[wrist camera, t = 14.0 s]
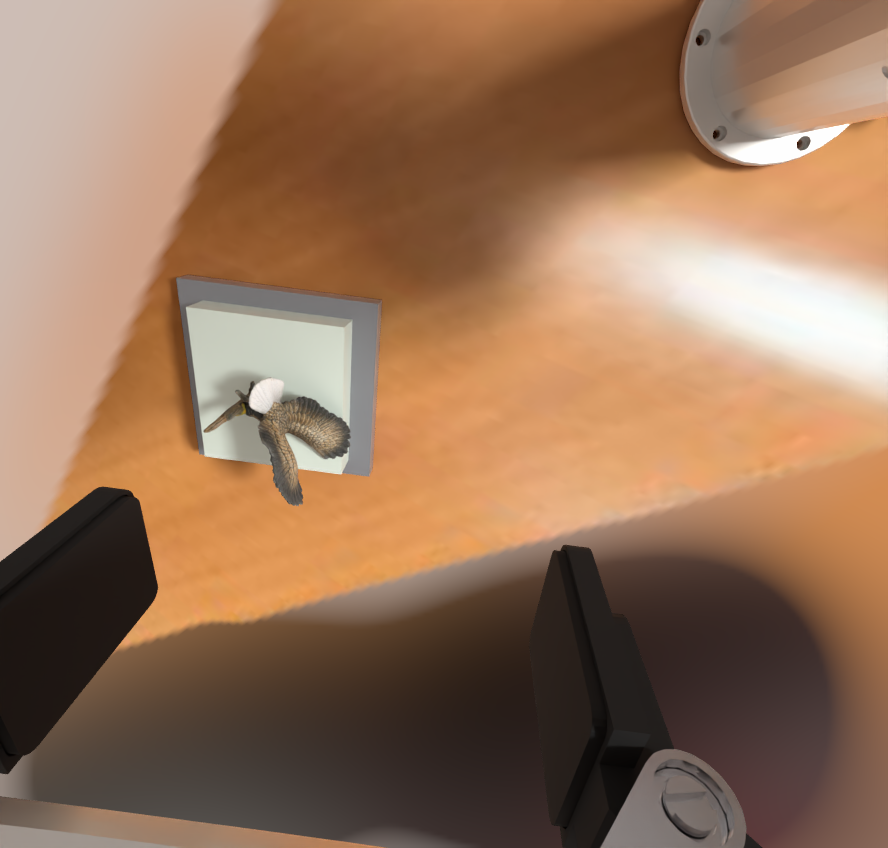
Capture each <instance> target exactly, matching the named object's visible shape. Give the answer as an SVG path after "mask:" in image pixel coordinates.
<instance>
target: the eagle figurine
mask: <svg viewBox="0 0 888 848" xmlns="http://www.w3.org/2000/svg"><path fill="white" fill-rule="evenodd" d="M283 389H284V382H283V381H282V380H280V379H275V378H272V377H268V378H266V379H263V380H260V381H259V382H258V383H256V384H255V382H254V381H252V382H251V383H250V388H249V392H248V394H247V395H244V394H243V393H242V392H241V391H240V390H236V391H235V393H236V394H237V395H238V396H239V397H240V400H239V401H238V402H237V403H235V404H234V405H232V406H231V407H230V408H228V409H227V410H226V411H225V412H224V413H223V414H222V415H221V416H220V417H219V418H217V419H216V420H215V421H214V422H213V423H211V424H210V425H209V426H208V427H207V428H206V429H204V431H203V432H204V433H208V432H211V431H213V430H215V429H217V428H218V427H219V426H220V425H221V424H223V423H225V422H227V421H230V420H231V419H233V418H234V417H235V416H240V415H243V414H246V415H247V416H249V417H254V418H256V419H257V420H259V421H260V423H259V425H258V429H259V430H258V431H259V435H260V438H261V442H262V444H264V445H265V446H266V447H267V448H268V449H269V454H270V455H271V458H270V461H271V462H272V466H273V473H274V478H273V481H274V483H275V485H276V488H279V492H281V494H282V496H284V498H285V500H287V502H288V503H289V504H292V505H293V506H295V505H296V506H299V504H303V501H302V499H303V495H302V493H301V492H302V489H301V486H300V484H299V480H298V465H297V461H296V458H295V455H294V453H293V451H292V449H291V447H290V445H289V443H288V441H287V439H286V436H285V435H286V433H290V434H292V435H294V436H296V437H298V438H300V439H302V440H303V441H304V442H306V443H307V444H308V445H309V446H311V447H313V448H314V449H315V450H316V452H317V453H319V455H320V456H321V457H322V458H323V459H328V458H332V459H335V458H336V457H337V456H338V457H343V456H344V454H347V453H348V447H350V445H351V444H350V442H349V440H348V439H351V436H350V434H349V433H350V432H351V431H350V429H349V426H348V425H347V423H346V422H345V421H343V419H342V418H341V417H337V416H336V415H335V414H334V413H329V411H328V410H326V409H325V408H324V407H321V406H320V404H319V403H318V402H317V401H316V400H313V399H312V398H307V397H305V396H302V397H298V398H297V399H292V400H291V401H290V402H288V401H285V402H282V394H283Z"/></svg>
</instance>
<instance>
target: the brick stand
mask: <svg viewBox="0 0 888 848" xmlns="http://www.w3.org/2000/svg"><path fill="white" fill-rule="evenodd" d="M176 281H177V289H178V296H179V304H180V312H181V319H182V327H183V334H184V342H185V349H186V357H187V364H188V372H189V379H190V387H191V395H192V402H193V410H194V417H195V425H196V432H197V440H198V447H199V454H202V455H205V456H206V457H213V458H221V459H229V460H236V461H244V462H251V463H259V464H266V465H272V462H271V461H270V458H271V455H270V454H269V449H268V448H267V447H266V446H265V445H264V444H262V442H261V438H260V435H259V431H258V430H259V429H258V425H259V423H260V421H259V420H257V419H256V418H254V417H249V416H247V415H246V414H243V415H240V416H235V417H234V418H233V419H231V420H230V421H227V422H225V423H223V424H221V425H220V426H219V427H218V428H217V429H215V430H213V431H211V432H208V433H204V432H203V431H204V429H206V428H207V427H208V426H209V425H210V424H211V423H213V422H214V421H215V420H216V419H217V418H219V417H220V416H221V415H222V414H223V413H224V412H225V411H226V410H227V409H228V408H230V407H231V406H232V405H234V404H235V403H237V402H238V401H239V400H240V397H239V396H238V395H237V394H236V393H235V391H236V390H240V391H241V392H242V393H243V394H244V395H247V394H248V392H249V388H250V383H251V382H252V381H254V382H255V384H256V383H258V382H259V381H260V380H263V379H266V378H268V377H272V378H275V379H280V380H282V381H283V382H284V389H283V394H282V402H285V401H288V402H290V401H291V400H292V399H297V398H298V397H302V396H305V397H307V398H312V399H313V400H316V401H317V402H318V403H319V404H320V406H321V407H324V408H325V409H326V410H328V411H329V413H334V414H335V415H336V416H337V417H341V418H342V419H343V421H345V422H346V423H347V425H348V426H349V429H350V431H351V432H350V433H349V434H350V436H351V439H348V440H349V442H350V444H351V445H350V447H348V453H347V454H344V456H343V457H338V456H337V457H336V458H335V459H332V458H328V459H323V458H322V457H321V456H320V455H319V453H317V452H316V450H315V449H314V448H313V447H311V446H309V445H308V444H307V443H306V442H304V441H303V440H302V439H300V438H298V437H296V436H294V435H292V434H290V433H286V435H285V436H286V439H287V441H288V443H289V445H290V447H291V449H292V451H293V453H294V455H295V458H296V461H297V465H298V469H304V470H312V471H320V472H327V473H335V474H342V473H346V474H354V475H361V476H370V473H371V471H372V468H373V454H374V437H375V419H376V401H377V383H378V365H379V347H380V329H381V311H382V300H379V299H371V298H364V297H356V296H348V295H340V294H333V293H325V292H317V291H310V290H302V289H294V288H286V287H279V286H271V285H263V284H255V283H248V282H240V281H232V280H224V279H217V278H209V277H201V276H194V275H185V276H181V277H177V278H176Z"/></svg>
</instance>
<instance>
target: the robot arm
mask: <svg viewBox="0 0 888 848" xmlns="http://www.w3.org/2000/svg"><path fill="white" fill-rule="evenodd" d="M696 37H698V38H700V40H701V44H700V46H698V45H697V43H696ZM680 95H681V100H682V105H683V110H684V113H685V116H686V118H687V120H688V123H689V125H690V128H691V130H692V131H693V132H694V134H695V135H696V137H697V138H698V139H699V141H700V142H701V143H702V144H703V145H704V146H705V147H706V148H707V149H708V150H710V151H711V152H712V153H713V154H714V155H716V156H718V157H720V158H722V159H724V160H726V161H728V162H732V163H736V164H740V165H744V166H766V165H773V164H781V163H784V162H788V161H791V160H795V159H798V158H801V157H803V156H805V155H807V154H809V153H811V152H813V151H815V150H817V149H819V148H821V147H822V146H824V145H825V144H827V143H828V142H829V141H831V140H832V139H834V138H835V137H837V136H838V135H839V134H840V133H841V132H843V131H844V130H845V129H846V128H847V127H848V126H849V125H850V124H852V123H857V122H862V121H867V120H872V119H877V118H883V117H888V0H701V1H700V3H699V5H698V7H697V9H696V11H695V14H694V16H693V18H692V20H691V22H690V25H689V28H688V32H687V35H686V38H685V41H684V45H683V50H682V56H681V63H680ZM714 131H716V132H717V137H716V138H715V139H714V138H713V132H714ZM797 141H798V142H799V145H798V147H796V144H797ZM157 590H158V584H157V580H156V575H155V570H154V566H153V561H152V557H151V552H150V547H149V543H148V538H147V534H146V529H145V524H144V520H143V515H142V511H141V506H140V502H139V500H138V499H137V498H135V497H134V496H133V493H132V492H131V491H129V490H125V489H117V488H109V487H99V488H97V489H95V490H93V491H92V492H91V493H90V494H88V495H87V496H86V497H84V498H83V499H82V500H80V501H79V502H78V503H76V504H75V505H74V506H73V507H71V508H70V509H69V510H67V511H66V512H65V513H63V514H62V515H61V516H59V517H58V518H57V519H56V520H54V521H53V522H52V523H50V524H49V525H48V526H46V527H45V528H44V529H42V530H41V531H40V532H39V533H37V534H36V535H35V536H33V537H32V538H31V539H29V540H28V541H27V542H25V544H23V545H22V546H20V547H19V548H18V549H16V550H15V551H14V552H13V553H11V554H10V555H8V556H7V557H6V558H5V559H3V560H2V561H1V562H0V773H2V774H8V773H9V772H10V771H11V769H12V768H13V767H14V766H15V765H16V764H17V762H18V761H19V760H20V759H21V757H22V756H23V755H27V754H29V753H31V752H32V751H33V750H34V749H35V748H36V747H37V746H38V745H39V744H40V743H41V741H42V740H43V739H44V738H45V737H46V735H47V734H48V732H49V731H50V730H51V729H52V728H53V726H54V725H55V724H56V723H57V722H58V720H59V719H60V718H61V717H62V715H63V714H64V713H65V712H66V710H67V709H68V708H69V706H70V705H71V704H72V703H73V702H74V700H75V699H76V698H77V697H78V695H79V694H80V693H81V692H82V690H83V689H84V688H85V687H86V685H87V684H88V683H89V682H90V680H91V679H92V678H93V677H94V675H95V674H96V673H97V671H98V670H99V669H100V668H101V666H102V665H103V664H104V663H105V661H106V660H107V659H108V658H109V656H110V655H111V654H112V653H113V651H114V650H115V649H116V648H117V646H118V645H119V644H120V643H121V641H122V640H123V639H124V638H125V636H126V635H127V634H128V633H129V631H130V630H131V629H132V628H133V626H134V625H135V624H136V623H137V621H138V620H139V619H140V618H141V616H142V615H143V614H144V613H145V611H146V610H147V609H148V608H149V606H150V605H151V604H152V603H153V601H154V599H155V597H156V594H157ZM530 657H531V665H532V674H533V683H534V691H535V700H536V708H537V717H538V725H539V734H540V742H541V751H542V758H543V768H544V777H545V785H546V793H547V802H548V811H549V817H550V821H551V824H552V825H554V826H560V831H561V839H562V846H563V848H762V847H761V846H760V845H759V844H757V843H756V842H755V841H754V840H753V839H752V838H751V837H750V836H749V835H747V834H746V824H745V819H744V815H743V811H742V809H741V807H740V805H739V803H738V801H737V799H736V797H735V795H734V793H733V791H732V790H731V789H730V788H729V786H728V785H727V784H726V782H725V781H724V779H723V778H722V777H721V776H720V775H719V774H718V773H717V772H716V771H715V770H713V769H712V768H711V767H710V766H709V765H708V764H707V763H705V762H703V761H702V760H700V759H699V758H697V757H695V756H694V755H692V754H689V753H686V752H683V751H680V750H674V747H673V745H672V742H671V739H670V736H669V733H668V731H667V728H666V725H665V722H664V719H663V716H662V714H661V711H660V708H659V706H658V703H657V700H656V697H655V694H654V691H653V689H652V686H651V683H650V680H649V677H648V675H647V672H646V669H645V666H644V663H643V661H642V658H641V655H640V652H639V650H638V647H637V644H636V641H635V638H634V635H633V633H632V630H631V627H630V624H629V622H628V620H627V618H626V617H625V616H624V615H623V614H615V613H611V609H610V606H609V604H608V600H607V597H606V594H605V591H604V588H603V585H602V582H601V579H600V576H599V573H598V569H597V566H596V563H595V560H594V557H593V554H592V551H591V549H589V548H586V547H577V546H570V545H563V547H562V548H561V551H556V550H554V551H553V553H552V556H551V560H550V563H549V567H548V571H547V574H546V578H545V582H544V586H543V589H542V593H541V597H540V601H539V604H538V608H537V612H536V616H535V620H534V623H533V627H532V631H531V635H530ZM0 848H385V847H378V846H370V845H363V844H356V843H349V842H342V841H334V840H327V839H320V838H313V837H305V836H298V835H291V834H284V833H276V832H269V831H262V830H254V829H247V828H239V827H231V826H224V825H217V824H209V823H202V822H194V821H187V820H179V819H172V818H163V817H156V816H149V815H141V814H134V813H126V812H119V811H111V810H104V809H96V808H88V807H80V806H72V805H64V804H56V803H49V802H41V801H33V800H25V799H17V798H9V797H1V796H0Z"/></svg>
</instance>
